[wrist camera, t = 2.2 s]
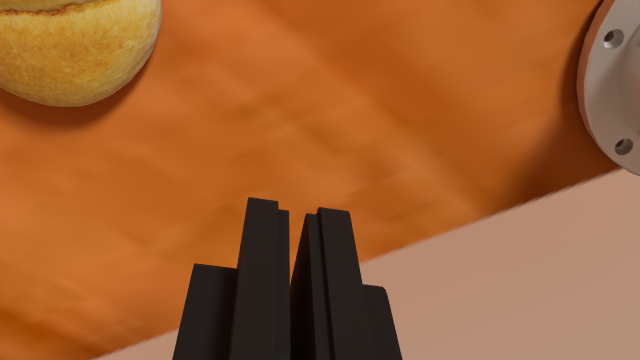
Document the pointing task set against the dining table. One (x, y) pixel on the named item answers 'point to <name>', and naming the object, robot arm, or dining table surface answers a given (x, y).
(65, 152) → the dining table surface
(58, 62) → the bread roll
